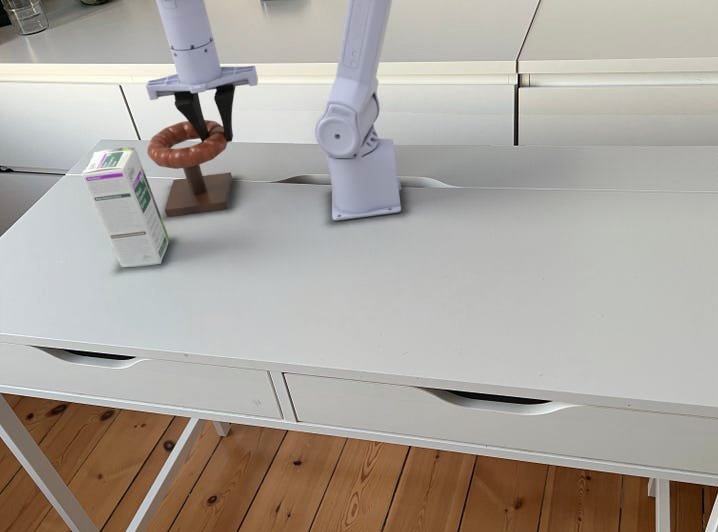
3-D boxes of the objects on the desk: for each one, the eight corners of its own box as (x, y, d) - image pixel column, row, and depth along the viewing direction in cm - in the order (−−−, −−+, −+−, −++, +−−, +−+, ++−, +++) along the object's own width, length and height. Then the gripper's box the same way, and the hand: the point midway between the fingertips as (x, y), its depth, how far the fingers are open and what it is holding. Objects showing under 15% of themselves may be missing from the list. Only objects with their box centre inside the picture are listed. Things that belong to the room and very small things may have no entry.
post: (232, 178, 119) (221, 138, 115) (227, 209, 112) (215, 167, 108) (175, 186, 119) (162, 146, 115) (166, 217, 113) (152, 176, 108)
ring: (233, 129, 113) (229, 112, 111) (225, 165, 104) (220, 147, 103) (159, 139, 113) (153, 122, 112) (145, 176, 105) (138, 159, 103)
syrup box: (162, 264, 103) (126, 166, 94) (119, 268, 104) (79, 172, 94) (170, 241, 108) (137, 145, 98) (129, 245, 108) (92, 150, 98)
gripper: (130, 61, 96) (162, 160, 105) (244, 45, 96) (267, 146, 105) (140, 41, 102) (170, 137, 111) (248, 26, 101) (270, 123, 110)
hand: (218, 140), depth 108 cm, fingers closed on ring, 3 cm apart
